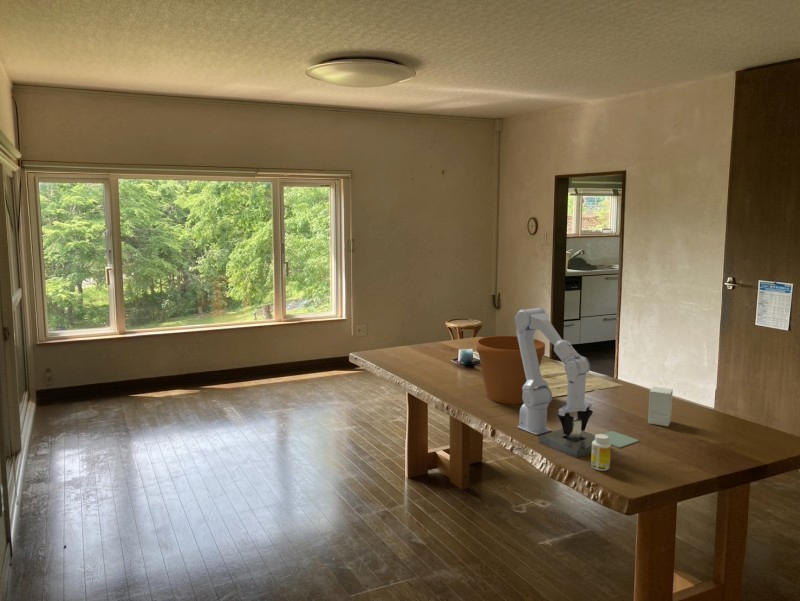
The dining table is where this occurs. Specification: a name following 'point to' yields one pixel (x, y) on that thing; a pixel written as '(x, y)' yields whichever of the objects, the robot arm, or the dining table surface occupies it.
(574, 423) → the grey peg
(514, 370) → the flowerpot
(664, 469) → the dining table surface
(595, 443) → the supplement bottle
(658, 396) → the supplement box
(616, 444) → the mat
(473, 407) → the dining table surface
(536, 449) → the dining table surface
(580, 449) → the socket block
